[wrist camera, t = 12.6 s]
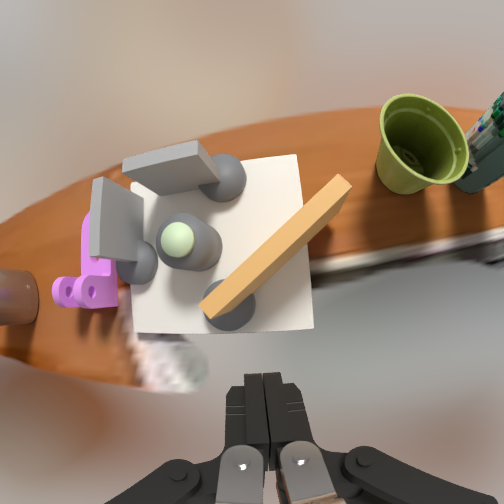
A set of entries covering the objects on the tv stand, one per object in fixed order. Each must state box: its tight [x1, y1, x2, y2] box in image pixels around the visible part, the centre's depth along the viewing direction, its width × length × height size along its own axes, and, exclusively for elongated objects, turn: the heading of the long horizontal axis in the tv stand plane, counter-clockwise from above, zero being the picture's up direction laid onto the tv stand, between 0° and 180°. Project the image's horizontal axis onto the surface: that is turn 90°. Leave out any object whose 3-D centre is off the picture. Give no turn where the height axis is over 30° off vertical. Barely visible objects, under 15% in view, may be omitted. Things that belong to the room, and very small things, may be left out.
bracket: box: [52, 211, 118, 308], centre depth 30 cm, size 13×6×7 cm, turn 4°
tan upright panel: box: [198, 174, 352, 331], centre depth 23 cm, size 16×5×8 cm, turn 132°
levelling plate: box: [89, 140, 314, 334], centre depth 26 cm, size 21×18×10 cm
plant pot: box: [376, 94, 469, 195], centre depth 23 cm, size 9×9×9 cm
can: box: [453, 92, 504, 194], centre depth 18 cm, size 6×6×15 cm
